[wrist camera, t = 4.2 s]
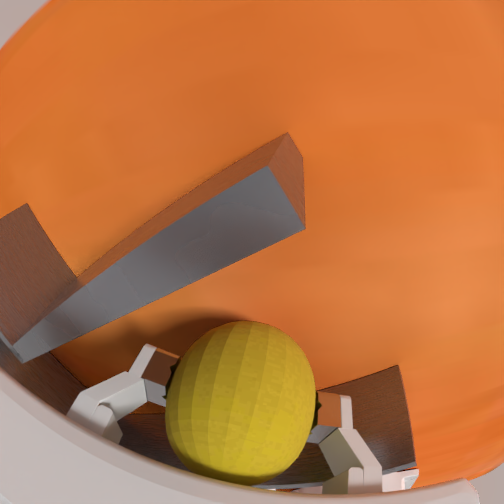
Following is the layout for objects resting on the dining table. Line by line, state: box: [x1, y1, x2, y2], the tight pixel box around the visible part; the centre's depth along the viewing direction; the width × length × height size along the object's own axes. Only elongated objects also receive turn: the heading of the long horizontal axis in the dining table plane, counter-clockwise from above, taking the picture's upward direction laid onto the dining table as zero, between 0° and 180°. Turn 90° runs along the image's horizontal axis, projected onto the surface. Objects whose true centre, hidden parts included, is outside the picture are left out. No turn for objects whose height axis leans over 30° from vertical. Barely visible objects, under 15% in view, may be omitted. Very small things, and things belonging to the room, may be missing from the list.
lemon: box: [165, 321, 316, 486], centre depth 10 cm, size 6×6×8 cm
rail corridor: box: [0, 132, 417, 489], centre depth 13 cm, size 20×28×6 cm
